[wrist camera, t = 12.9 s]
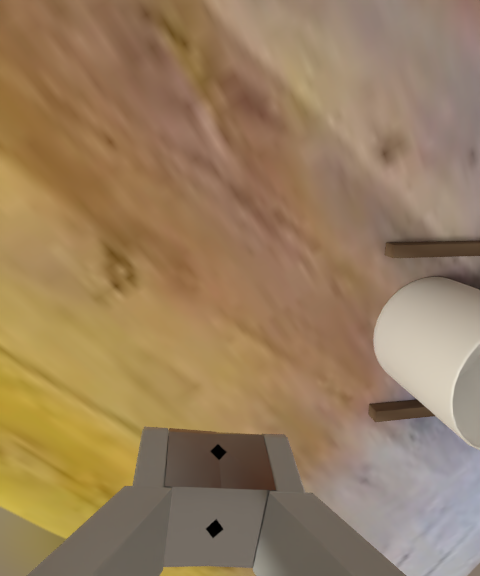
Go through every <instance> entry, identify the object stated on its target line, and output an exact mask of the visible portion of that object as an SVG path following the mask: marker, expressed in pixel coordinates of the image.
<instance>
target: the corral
mask: <svg viewBox="0 0 480 576" xmlns="http://www.w3.org/2000/svg"><path fill="white" fill-rule="evenodd" d="M385 255H386V256H389V257H391V258H415V257H452V256H480V241H445V242H394V243H386V248H385ZM369 415H370V417H371V418H372V419H373V420H374V421H375V422H381V421H391V420H401V419H410V418H420V417H430V416H435V415H434V414H433V413H432V412H431V411H430V410H429V409H427V408H426V407H425V406H424V405H423V404H422V403H421V402H419V401H418V400H408V401H397V402H387V403H376V404H369Z"/></svg>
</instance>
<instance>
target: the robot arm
mask: <svg viewBox="0 0 480 576" xmlns="http://www.w3.org/2000/svg"><path fill="white" fill-rule="evenodd" d="M168 433H169V434H168ZM208 565H209V566H220V567H245V568H253V571H254V573H255V574H256V576H406V575H405V574H404V573H403V572H402V571H400V570H399V569H398V568H397V567H396V566H395V565H394V564H392V563H391V562H390V561H389V560H388V559H387V558H386V557H384V556H383V555H382V554H381V553H380V552H379V551H378V550H377V549H375V548H374V547H373V546H372V545H371V544H370V543H369V542H367V541H366V540H365V539H364V538H363V537H362V536H361V535H360V534H358V533H357V532H356V531H355V530H354V529H353V528H352V527H350V526H349V525H348V524H347V523H346V522H345V521H344V520H343V519H341V518H340V517H339V516H338V515H337V514H336V513H335V512H333V511H332V510H331V509H330V508H329V507H328V506H327V505H325V504H324V503H323V502H322V501H321V500H320V499H319V498H318V497H316V496H315V495H314V494H313V493H305V490H304V487H303V484H302V481H301V478H300V475H299V472H298V469H297V466H296V463H295V460H294V456H293V453H292V450H291V447H290V444H289V441H288V438H287V437H286V436H285V435H284V434H261V435H259V434H240V433H220V432H211V431H198V430H186V429H173V428H169V430H168V428H157V427H144V429H143V431H142V436H141V442H140V447H139V453H138V458H137V464H136V469H135V475H134V481H133V486H124V487H123V488H122V489H121V490H120V491H119V492H118V493H117V494H115V495H114V496H113V497H112V498H111V499H110V500H109V501H108V502H107V503H106V504H105V505H103V506H102V507H101V508H100V509H99V510H98V511H97V512H96V513H95V514H94V515H93V516H91V517H90V518H89V519H88V520H87V521H86V522H85V523H84V524H83V525H82V526H80V527H79V528H78V529H77V530H76V531H75V532H74V533H73V534H72V535H71V536H70V537H68V538H67V539H66V540H65V541H64V542H63V543H62V544H61V545H60V546H59V547H58V548H57V549H55V550H54V551H53V552H52V553H51V554H50V555H49V556H48V557H47V558H46V559H44V560H43V562H41V563H40V564H39V565H38V566H37V567H36V568H35V569H34V570H32V571H31V572H30V573H29V574H28V575H27V576H159V575H160V573H161V572H162V570H163V567H184V566H208Z"/></svg>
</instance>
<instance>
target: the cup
mask: <svg viewBox="0 0 480 576" xmlns="http://www.w3.org/2000/svg"><path fill="white" fill-rule="evenodd" d="M373 342H374V351H375V354H376V357H377V360H378V362H379V363H380V365H381V366H382V368H383V369H384V370H385V371H386V372H387V373H388V374H389V375H390V376H391V377H392V378H393V379H394V380H395V381H397V382H398V383H399V384H400V385H401V386H402V387H403V388H405V389H406V390H407V391H408V392H409V393H410V394H411V395H413V396H414V397H415V398H416V399H417V400H418V401H419V402H421V403H422V404H423V405H424V406H425V407H426V408H427V409H429V410H430V411H431V412H432V413H433V414H434V415H435V416H436V417H438V418H439V419H440V420H441V421H442V422H443V423H444V424H446V425H447V426H448V427H449V428H450V429H451V430H452V431H454V432H455V433H456V434H457V435H458V436H459V437H460V438H462V439H463V440H464V441H465V442H466V443H467V444H468V445H470V446H472V447H474V448H476V449H478V450H480V290H479V289H476V288H474V287H471V286H468V285H465V284H463V283H460V282H457V281H454V280H451V279H448V278H444V277H428V278H422V279H419V280H416V281H414V282H411V283H409V284H408V285H406V286H404V287H403V288H401V289H400V290H399V291H398V292H397V293H395V294H394V295H393V296H392V297H391V298H390V300H389V301H388V302H387V303H386V305H385V306H384V307H383V309H382V311H381V313H380V315H379V317H378V319H377V323H376V326H375V329H374V339H373Z"/></svg>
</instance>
